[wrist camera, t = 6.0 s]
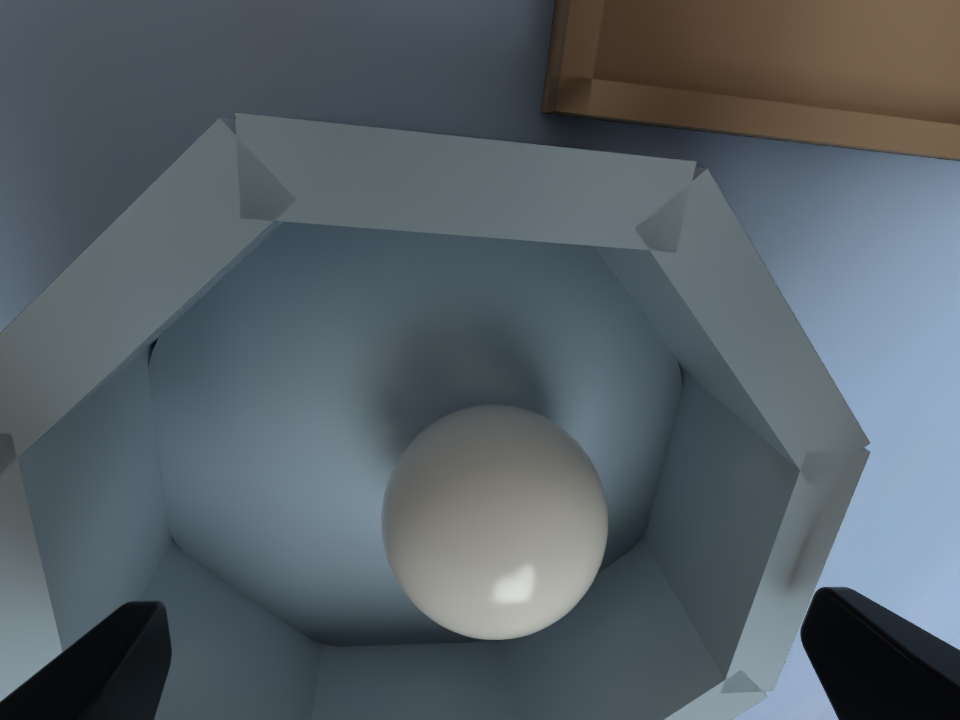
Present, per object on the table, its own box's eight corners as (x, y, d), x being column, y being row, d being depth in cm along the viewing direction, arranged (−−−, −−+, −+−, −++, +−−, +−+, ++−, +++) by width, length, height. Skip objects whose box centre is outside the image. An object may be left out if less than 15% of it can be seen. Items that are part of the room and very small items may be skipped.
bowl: (773, 169, 10) (976, 190, 7) (641, 649, 15) (720, 820, 11) (56, 93, 9) (-204, 66, 5) (149, 666, 13) (49, 879, 9)
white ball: (585, 373, 11) (672, 488, 7) (556, 532, 12) (618, 691, 9) (387, 365, 10) (382, 485, 7) (380, 533, 12) (372, 704, 8)
